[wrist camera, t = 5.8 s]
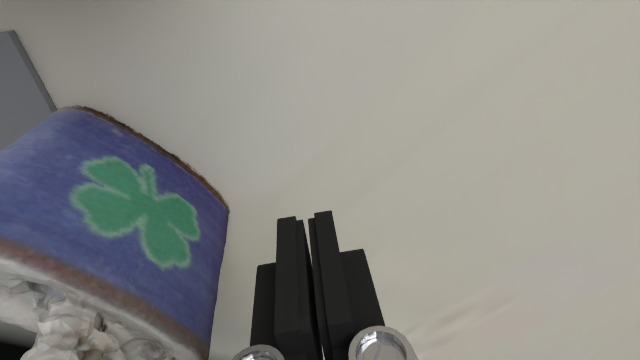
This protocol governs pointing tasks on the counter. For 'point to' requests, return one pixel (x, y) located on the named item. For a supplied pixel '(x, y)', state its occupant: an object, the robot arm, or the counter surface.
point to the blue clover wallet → (107, 243)
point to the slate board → (19, 92)
